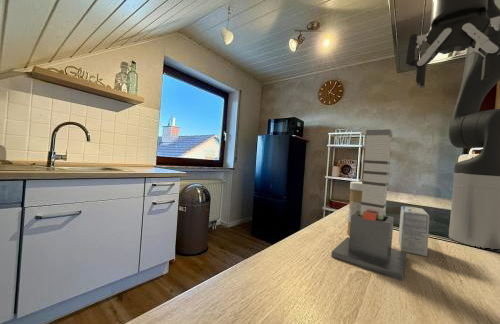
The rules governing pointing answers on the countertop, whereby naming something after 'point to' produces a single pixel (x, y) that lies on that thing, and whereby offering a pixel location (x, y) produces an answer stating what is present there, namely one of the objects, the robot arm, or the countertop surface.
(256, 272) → the countertop surface
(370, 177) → the column
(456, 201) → the robot arm
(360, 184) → the sprinkles bottle
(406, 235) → the medicine box
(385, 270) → the stand base
